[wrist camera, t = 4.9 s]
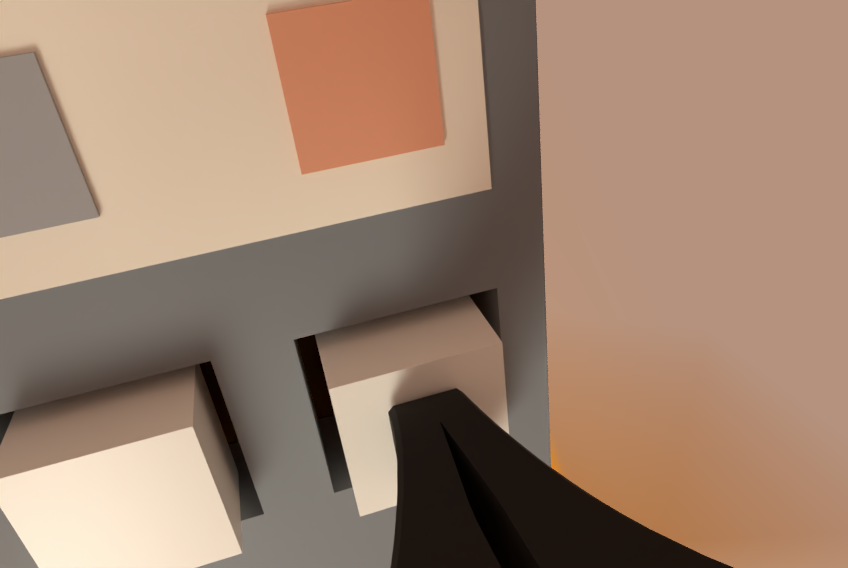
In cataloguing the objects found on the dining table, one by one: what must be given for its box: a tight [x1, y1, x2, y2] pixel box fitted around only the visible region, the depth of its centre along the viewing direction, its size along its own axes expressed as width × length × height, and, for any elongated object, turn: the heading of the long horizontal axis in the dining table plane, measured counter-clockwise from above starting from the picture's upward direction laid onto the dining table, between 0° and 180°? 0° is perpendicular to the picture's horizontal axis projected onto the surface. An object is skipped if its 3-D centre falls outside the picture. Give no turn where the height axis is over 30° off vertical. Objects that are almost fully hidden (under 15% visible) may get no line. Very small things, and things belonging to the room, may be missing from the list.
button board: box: [0, 0, 551, 568], centre depth 12 cm, size 17×14×3 cm
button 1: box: [315, 295, 509, 517], centre depth 13 cm, size 3×3×2 cm
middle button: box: [0, 364, 242, 568], centre depth 12 cm, size 3×3×2 cm
